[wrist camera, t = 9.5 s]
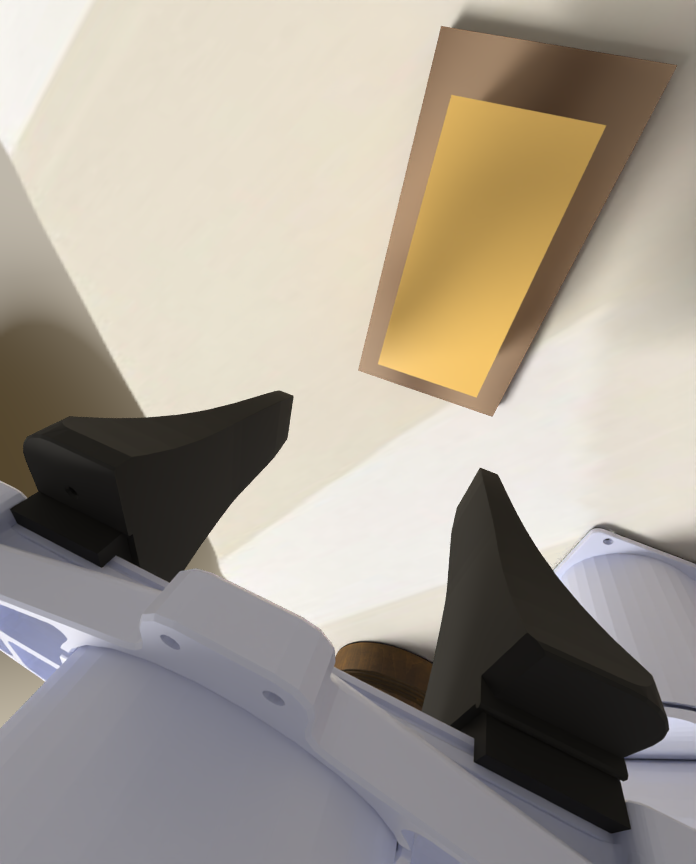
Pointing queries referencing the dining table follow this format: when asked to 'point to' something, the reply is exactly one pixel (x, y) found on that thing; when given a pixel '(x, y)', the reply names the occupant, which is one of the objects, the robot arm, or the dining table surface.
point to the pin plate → (625, 120)
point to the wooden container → (387, 670)
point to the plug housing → (482, 236)
